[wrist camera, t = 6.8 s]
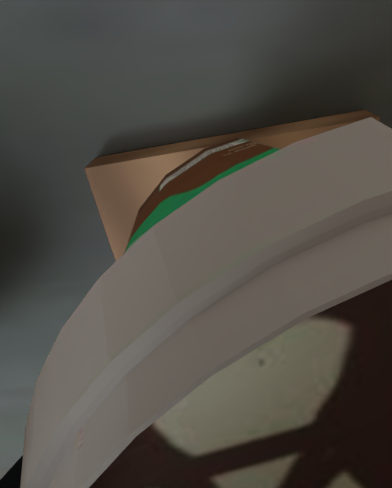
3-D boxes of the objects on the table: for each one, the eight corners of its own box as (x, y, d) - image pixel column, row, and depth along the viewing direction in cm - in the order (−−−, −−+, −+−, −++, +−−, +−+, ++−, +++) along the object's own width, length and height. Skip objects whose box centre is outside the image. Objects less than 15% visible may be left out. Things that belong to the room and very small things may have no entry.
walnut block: (162, 365, 27) (158, 388, 26) (96, 157, 20) (84, 168, 18) (357, 347, 25) (367, 370, 24) (364, 109, 18) (380, 116, 16)
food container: (36, 135, 11) (-406, 381, 2) (229, 89, 11) (545, 151, 2) (143, 407, 17) (140, 799, 8) (274, 373, 17) (421, 721, 8)
